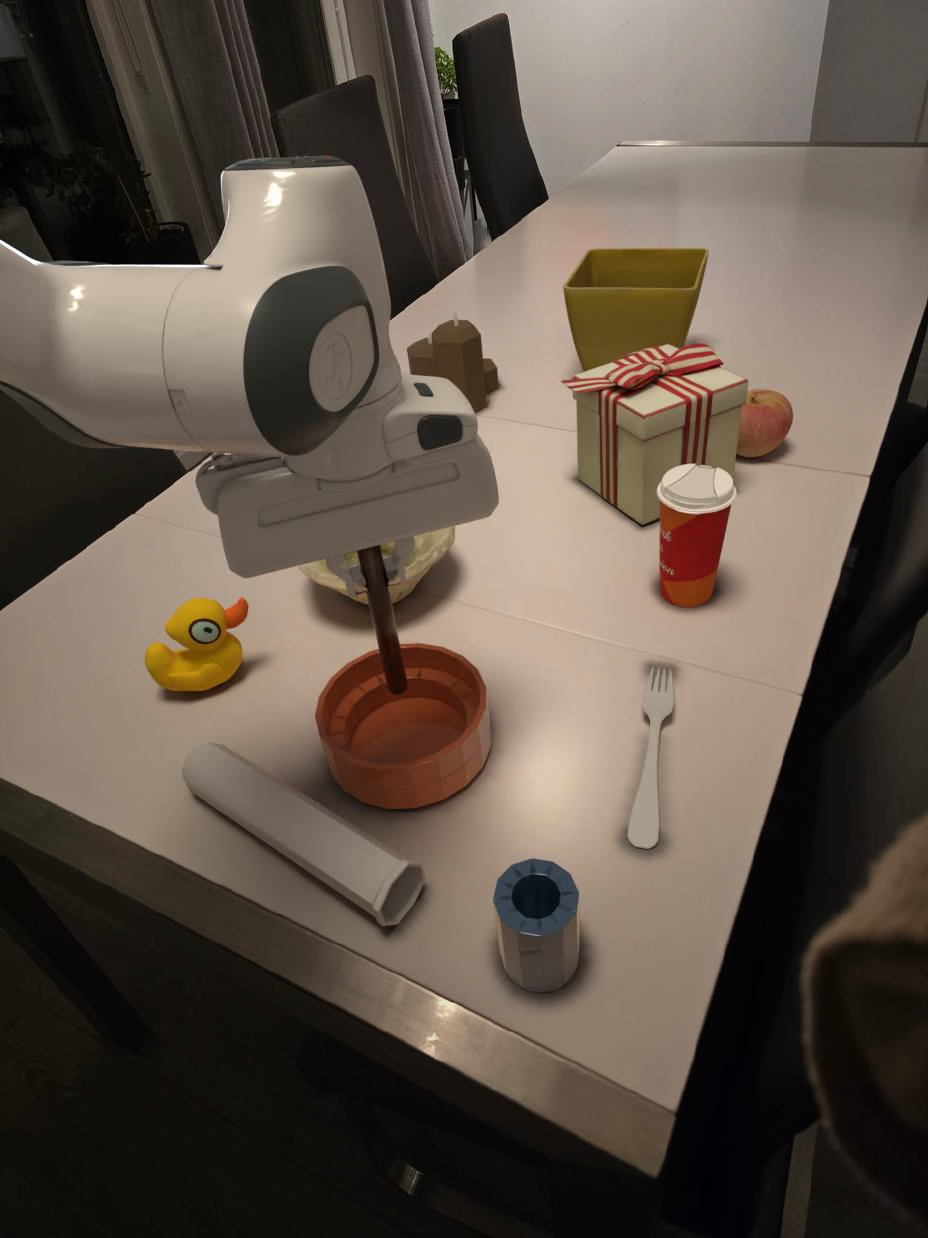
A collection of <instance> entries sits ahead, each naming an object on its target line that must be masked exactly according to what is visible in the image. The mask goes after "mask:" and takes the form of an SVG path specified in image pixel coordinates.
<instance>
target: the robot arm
mask: <svg viewBox="0 0 928 1238" xmlns="http://www.w3.org/2000/svg"><path fill="white" fill-rule="evenodd" d="M220 190H221V201H222V209H223V216H224V222H225V226H224V229H223V231H222V234H221V236H220V239H219V240H218V242H217V245H216V246H215V248H214V249H213V251H212V252H211V254H210V255H209V256H208V257H207V258H206V259H205V260H204V261H203V264H112V263H106V262H96V261H77V260H54V261H44V262H42V261H40V260H39V261H38V260H35V259H33V258H31V257H29V256H27V255H26V254H24V253H23V252H21V251H20V250H18V249H16V248H14V247H13V246H11V245H9V244H7V242H5V241H3V240H1V239H0V391H2V392H3V393H5V394H6V395H7V396H8V397H9V398H11V399H13V400H14V401H15V402H16V403H17V404H19V405H20V406H21V407H23V409H25V410H26V412H28V414H30V415H31V416H32V417H34V418H35V419H36V420H37V421H38V422H39V423H41V424H42V425H43V426H44V427H45V428H47V429H48V430H49V431H50V432H52V433H54V434H55V435H56V436H58V437H60V438H61V439H63V440H65V441H66V442H68V443H71V444H74V445H77V446H78V447H79V446H80V447H83V448H90V449H135V448H146V449H147V448H148V449H158V450H159V449H161V450H174V451H184V452H185V451H186V452H199V453H210V454H211V453H212V455H210V458H211V459H210V460H207V461H206V462H204V463H203V464H202V465H201V466H200V467H199V469H198V470H197V473H196V475H195V487H196V489H197V492H198V495H199V498H200V500H201V504H202V505H203V506H204V507H205V509H206V510H207V511H209V512H210V513H211V514H214V515H216V516H217V520H218V527H219V532H220V539H221V543H222V547H223V552H224V555H225V559H226V563H227V566H228V569H229V571H230V572H232V573H234V574H235V575H237V576H239V577H240V578H243V579H251V578H252V579H253V578H256V577H259V576H263V575H267V574H271V573H275V572H279V571H284V570H287V569H292V568H294V567H298V566H299V565H303V564H307V563H311V562H315V561H319V560H322V559H325V562H326V565H327V568H328V569H329V570H330V571H331V572H333V573H334V574H335V575H336V576H338V577H339V578H340V579H341V580H343V581H344V582H345V584H346V588H347V591H348V594H349V596H348V598H350V597H353V596H357V595H361V594H364V593H368V591H367V587H366V582H365V578H364V575H363V572H361V567H360V564H359V565H354V566H349V565H348V564H347V563H346V562H345V559H344V555H343V554H346V553H350V552H354V551H358V550H362V549H366V548H370V547H374V546H377V545H381V544H385V543H389V542H393V541H394V542H395V545H394V548H393V551H392V553H391V556H389V557H385V558H383V562H384V569H385V574H386V579H387V584H388V587H390V586H394V585H398V584H402V583H406V582H407V580H406V574H405V569H404V566H406V564H407V562H408V560H409V558H410V556H411V554H412V552H413V550H414V547H415V542H414V536H417V535H421V534H425V533H428V532H432V531H436V530H440V529H444V528H448V527H452V526H455V527H456V526H460V525H463V524H467V523H472V522H476V521H480V520H484V519H487V518H489V517H491V516H492V514H494V512H495V510H496V509H497V507H498V505H499V503H500V495H499V487H498V482H497V475H496V471H495V467H494V466H495V465H494V463H493V459H492V455H491V453H490V450H489V448H488V447H487V446H486V444H485V442H484V441H483V440H482V437H481V436H480V435H479V434H478V429H479V427H478V426H479V425H478V418H477V415H476V413H475V412H474V410H473V408H472V406H471V404H470V403H469V401H468V400H467V398H466V397H465V396H464V394H463V393H462V392H461V391H460V390H459V389H458V388H457V387H456V386H455V385H454V384H453V383H452V382H451V381H449V380H448V379H446V378H441V377H432V376H420V375H410V373H409V374H408V373H402V370H401V366H400V362H399V360H398V358H397V356H396V354H395V352H394V349H393V347H392V343H391V339H390V338H391V337H390V322H391V314H392V305H391V297H390V291H389V285H388V284H389V283H388V279H387V274H386V273H387V272H386V268H385V263H384V257H383V253H382V252H383V251H382V248H381V244H380V239H379V236H378V230H377V226H376V223H375V220H374V215H373V212H372V209H371V206H370V202H369V200H368V196H367V193H366V190H365V187H364V185H363V182H362V179H361V177H360V175H359V173H358V171H357V169H356V168H355V167H354V165H352V164H350V163H348V162H347V161H344V160H343V159H342V158H340V157H336V156H332V155H310V156H309V155H306V156H287V157H286V156H285V157H263V158H262V157H259V158H258V157H257V158H246V159H242V160H241V159H240V160H239V161H236V162H233V163H231V165H230V166H228V167H225V169H224V170H222V172H221V175H220Z"/></svg>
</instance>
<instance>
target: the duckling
mask: <svg viewBox="0 0 928 1238" xmlns="http://www.w3.org/2000/svg"><path fill="white" fill-rule="evenodd" d="M248 614H249V603H248V600H247V599H246V598H244V597H239V598H238V600H237V602H236V603H235V604H234V605H232V606H230V607H227V608H226V609H224V607H223V605H222V604H221V603H220V602H219V601H217V600H215V599H212V598H209V597H193V598H191V599H189V600H186V601H185V602H183V603H182V604H181V605H180V606H179V607H178V608H177V609H176V610H175V611H174V613H173V614H172V615H171V616H170V618H168V619H167V621H166V622H165V624H164V630H165V632H166V634H167V635H168V637H169V638H170V639H172V640H173V641H175V642H177V643H178V644H179V645H181V646H182V647H183V648H184V649H171V648H170V647H169V646H167V645H166V644H164V643H163V642H160V641H155V642H153V643H151V644H149V645H148V647H147V648H146V650H145V653H144V665H145V668H146V670H147V672H148V673H149V675H150V677H151V678H152V680H153V681H154V682H155V683H156V684H157V685H158V686H159V687H161V688H162V689H165V690H169V691H173V692H190V691H192V692H203V691H207V690H210V689H212V688H214V687H216V686H218V685H220V684H221V685H222V684H223V683H225V682H227V681H228V680H229V679H231V677H232V676H234V674H235V673H236V671H237V670H238V668H239V667H240V665H241V663H242V661H243V656H244V655H243V653H244V652H243V645H242V643H241V641H240V640H239V638H238V637H236V635H234V634H233V633H231V632H229V631H227V630H231V629H235V628H237V627H239V626H240V625H242V624H243V623H244V622H245V621H246V620H247V617H248Z"/></svg>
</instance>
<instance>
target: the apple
mask: <svg viewBox="0 0 928 1238" xmlns="http://www.w3.org/2000/svg"><path fill="white" fill-rule="evenodd" d="M793 421H794V410H793V406H792V404H791V402H790V401H789V399H788V398H787V397H786V396H785V395H784V394H783V393H781V392H779V391H775V390H772V389H764V388H754V389H748V390H747V399H746V404H744V405H742V408H741V416H740V424H739V434H738V443H737V451H736V455H738V456H740V457H744V458H757V457H761V456H764V455H767V454H769V453H771V452H772V451H773V450H775V449H776V448H777V447H778V446H779V445H780V444H781V443H783V442H784V440H785V439H786V437H787V436H788V434H789V432H790V430H791V427H792V425H793V423H794V422H793Z"/></svg>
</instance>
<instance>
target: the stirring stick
mask: <svg viewBox="0 0 928 1238" xmlns="http://www.w3.org/2000/svg"><path fill="white" fill-rule="evenodd" d="M357 554H358V558H359V563H360V567H361V572H363V575H364V578H365V582H366V587H367V591H368V593H366V594H367V598H368V603H369V605H368V608H369V611H370V612H369V613H370V616H371V620H372V626H373V630H374V633H375V638H376V643H377V647H378V648H377V649H379V652H380V657H381V661H382V666H383V670H384V675H385V679H386V683H387V688H388V690H389V692H390V693H392V694H393V695H401V694H403V693H404V692H405V691H406V690H407V687H408V683H407V678H406V672H405V667H404V662H403V657H402V652H401V647H400V644H401V641H400V638H399V632H398V628H397V623H396V617H395V613H394V608H393V607H394V606H393V603H392V602H391V597H390V592H389V587H388V584H387V579H386V574H385V569H384V562H383V557H382V552H381V547H380V545H377V546H374V547H370V548H366V549H362V550H358V551H357Z"/></svg>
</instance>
